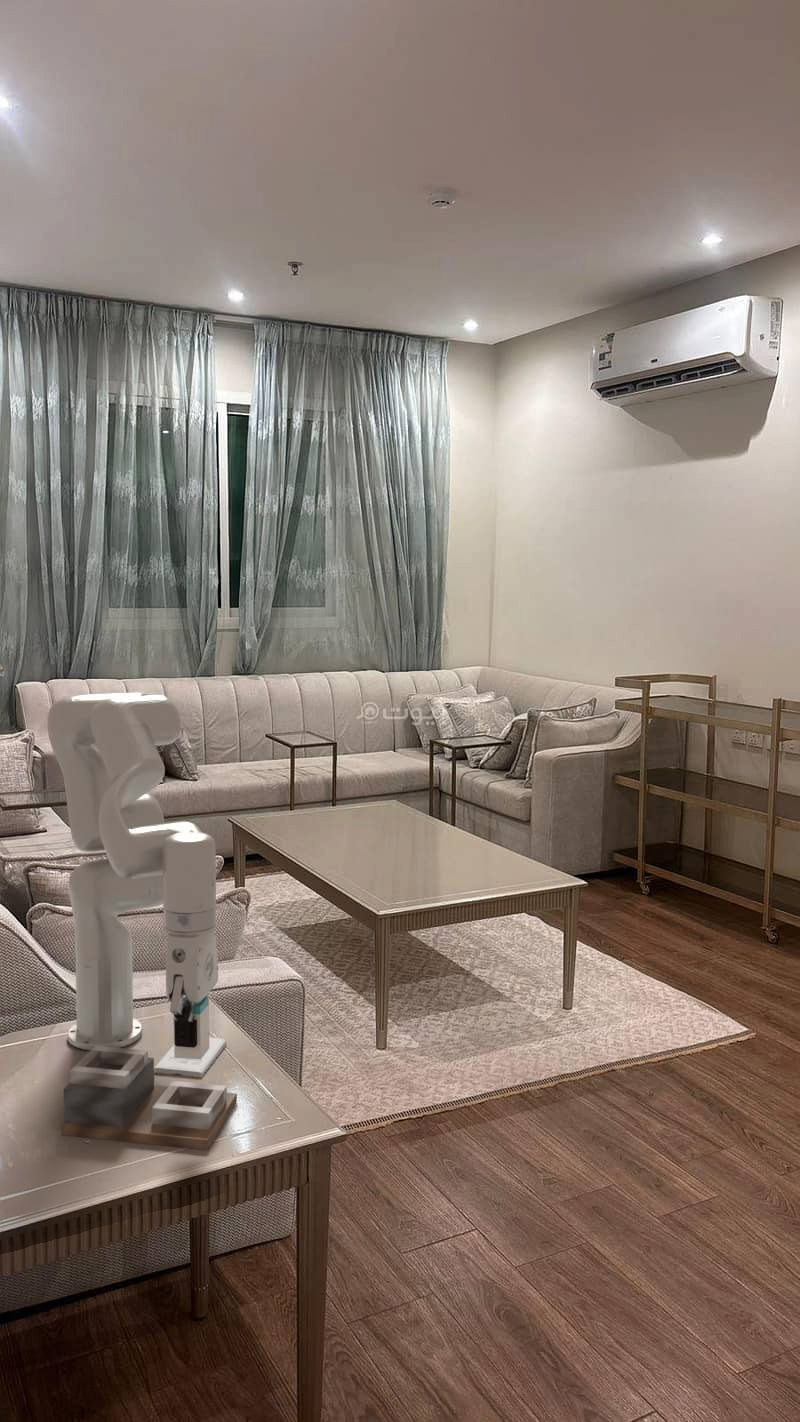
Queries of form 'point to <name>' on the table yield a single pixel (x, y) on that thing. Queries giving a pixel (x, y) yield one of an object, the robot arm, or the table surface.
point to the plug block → (202, 1032)
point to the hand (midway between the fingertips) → (191, 1038)
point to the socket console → (140, 1102)
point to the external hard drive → (190, 1061)
